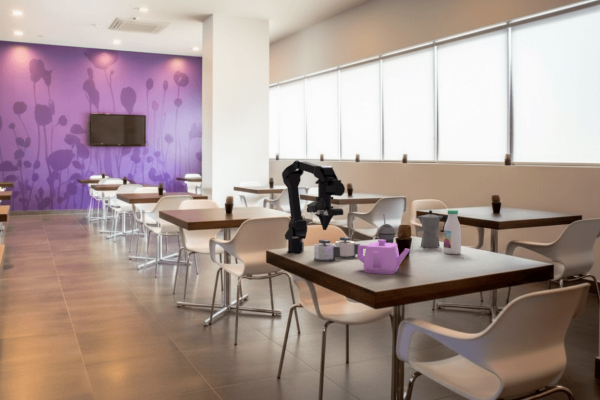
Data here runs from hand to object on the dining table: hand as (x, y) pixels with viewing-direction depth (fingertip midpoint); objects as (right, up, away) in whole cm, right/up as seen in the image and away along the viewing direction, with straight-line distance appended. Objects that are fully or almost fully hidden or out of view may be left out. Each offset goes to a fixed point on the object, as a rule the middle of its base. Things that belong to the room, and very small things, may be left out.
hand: (324, 230), depth 251 cm
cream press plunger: (+10, -10, +7) cm, 15 cm away
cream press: (+11, -12, +6) cm, 17 cm away
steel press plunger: (0, -11, -1) cm, 11 cm away
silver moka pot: (+1, -13, -1) cm, 13 cm away
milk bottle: (+60, -12, +14) cm, 62 cm away
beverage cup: (+27, -13, -2) cm, 30 cm away
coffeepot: (+55, -10, +33) cm, 65 cm away
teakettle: (+22, -15, -25) cm, 36 cm away
